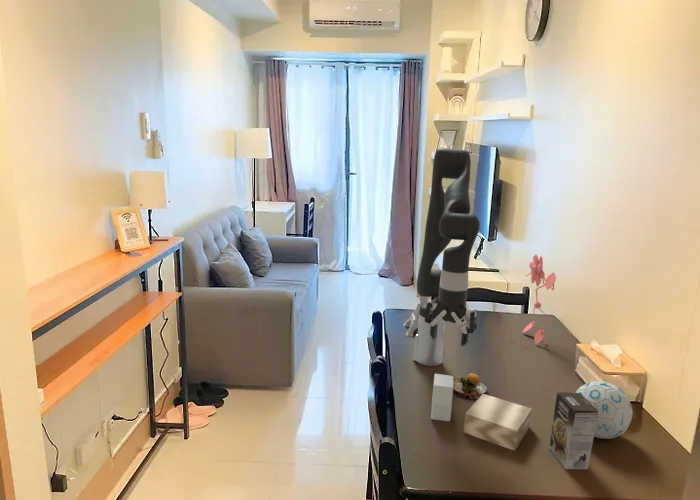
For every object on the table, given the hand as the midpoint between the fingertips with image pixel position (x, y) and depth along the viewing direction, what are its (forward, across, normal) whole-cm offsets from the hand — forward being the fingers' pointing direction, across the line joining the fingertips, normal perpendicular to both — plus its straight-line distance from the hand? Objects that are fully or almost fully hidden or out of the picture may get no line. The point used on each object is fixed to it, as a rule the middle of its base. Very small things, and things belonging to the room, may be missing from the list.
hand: (448, 341), depth 149 cm
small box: (+22, 0, 0) cm, 23 cm away
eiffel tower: (+22, -31, +58) cm, 70 cm away
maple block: (+23, +16, +1) cm, 28 cm away
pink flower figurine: (+22, +7, +75) cm, 78 cm away
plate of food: (+23, +2, +19) cm, 30 cm away
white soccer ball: (+22, +40, +15) cm, 48 cm away
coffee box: (+22, +35, -2) cm, 41 cm away
